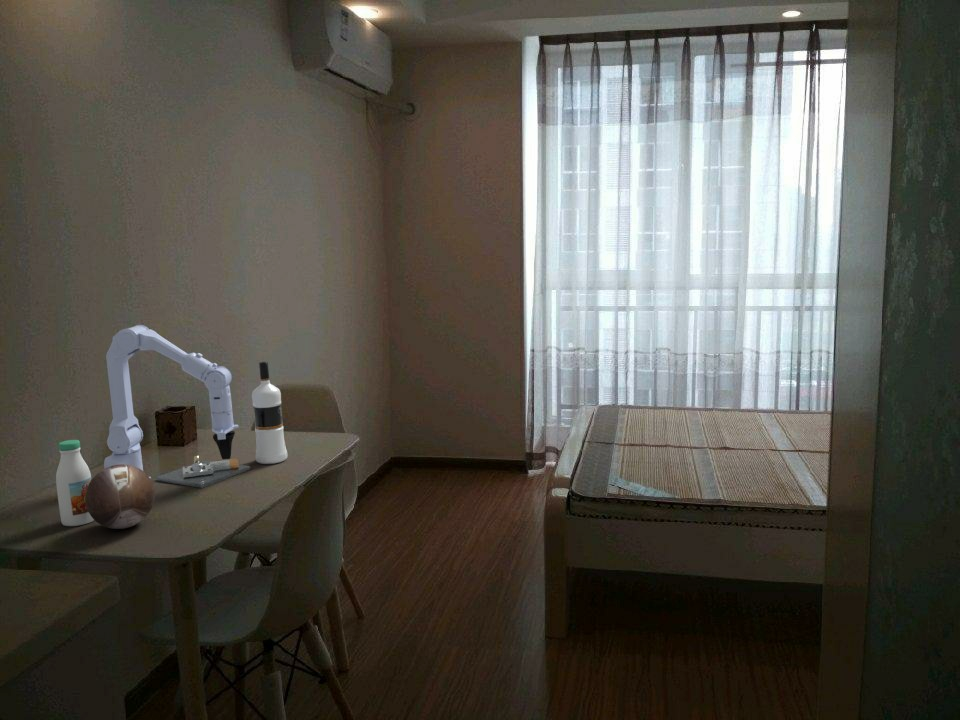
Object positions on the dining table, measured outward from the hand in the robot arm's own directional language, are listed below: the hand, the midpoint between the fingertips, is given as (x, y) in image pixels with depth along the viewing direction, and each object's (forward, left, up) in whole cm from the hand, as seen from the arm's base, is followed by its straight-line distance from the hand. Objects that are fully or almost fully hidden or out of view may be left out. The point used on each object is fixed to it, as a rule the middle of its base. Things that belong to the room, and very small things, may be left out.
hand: (226, 458), depth 228 cm
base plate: (-1, +9, -5) cm, 10 cm away
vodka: (+18, 0, -6) cm, 19 cm away
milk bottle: (-40, +8, -6) cm, 42 cm away
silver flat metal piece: (0, +7, -4) cm, 8 cm away
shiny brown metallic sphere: (-38, -6, -6) cm, 39 cm away
